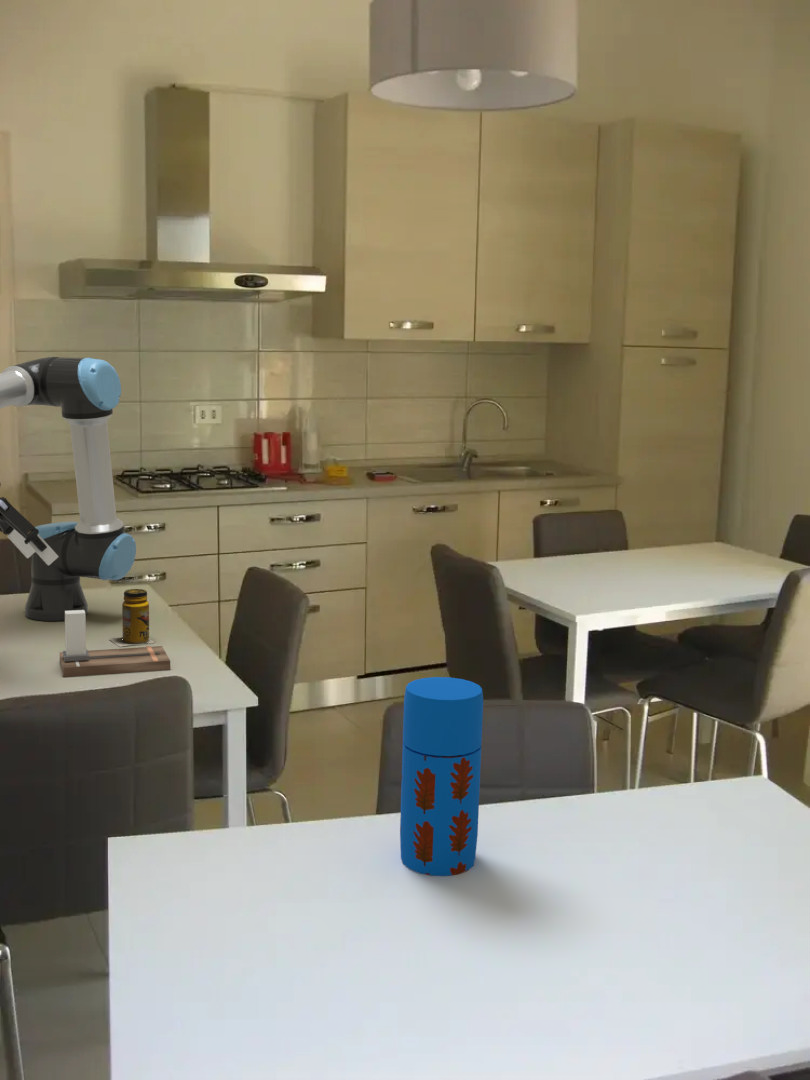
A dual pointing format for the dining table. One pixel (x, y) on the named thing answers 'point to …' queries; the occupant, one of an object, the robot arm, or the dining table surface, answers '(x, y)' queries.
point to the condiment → (134, 619)
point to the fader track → (117, 661)
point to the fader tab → (75, 636)
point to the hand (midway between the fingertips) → (42, 557)
